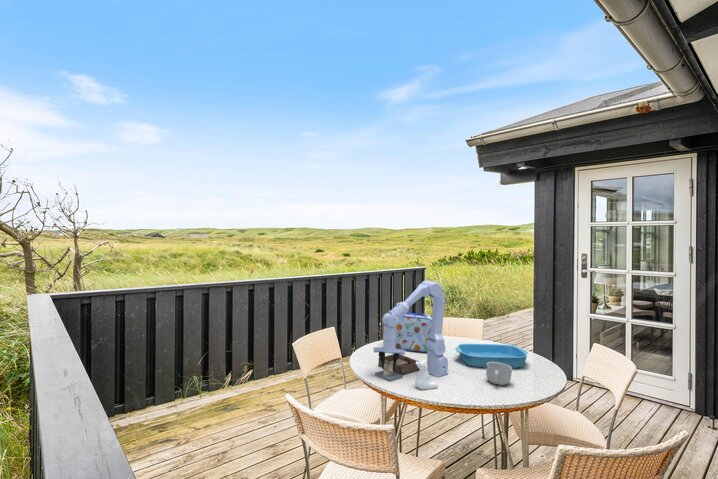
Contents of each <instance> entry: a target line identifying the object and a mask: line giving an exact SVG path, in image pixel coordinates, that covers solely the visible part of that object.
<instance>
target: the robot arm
mask: <svg viewBox="0 0 718 479" xmlns="http://www.w3.org/2000/svg"><path fill="white" fill-rule="evenodd" d="M422 297H430V298H431V300H432V312H431V316H432V320H431V331H430V333H429V334H428V337H427V340H426V342H425V346H426V348H427V352H426V353H427V354H426V356H427V358H426V359H427V361H426V363H427V365H428V369H427V370H428V373H429V375H432V376H435V377H437V378H440V377H442V376H445V375H449V370H448V366H449V360H448V358H447V357H446V356H445V355H444V354H445V352H446V348H447V347H446V344H445V338H444V337H443V323H444V314H445V303H446V297H445V294H444V291H443V286H442V285H440V283H438V282H436V281H431V280H427V279H425V280H423V281H422V282H421V283H419V284H418V285H417V287H416V289H415V290H414V291H413V292H412V293H411V294H410V295H409V296H408V297H407V298H406V299H405V300H404V301H400V302H397V303H396V304H395V305H396V306H394V307H393V308H392V309H391V310H389V311H388V312H387V313H385V314H383V316H382V318H381V322H382V323H383V340H382V344H383V345H382V346H381V347H379V346H378V347H375V346H374V347H373V353H374V354H375V353H378V359H379V358H380V360H381V363H382V367H381V369H382V370H384V363H385V356H386V354H389V355H393V354H394V355H393V370H395V365H396V361H397V359H398V357H399V355H403V356H406V350H402V349H396V348H395V347H396V326H397V325H398V322H399V320H400V319H401V318H402V317H403V316H404V315H405V314H406V313H409V311H410V307H411V306H413V305H414V304H415V303H416V302H417V301H418V300H419V299H420V298H422Z"/></svg>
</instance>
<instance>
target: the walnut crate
mask: <svg viewBox="0 0 718 479" xmlns="http://www.w3.org/2000/svg"><path fill="white" fill-rule="evenodd" d="M393 355H394V354H389V355H385V362H393ZM419 361H420V360H417V359H414V358H411V357H410V356H409V357H408V356H406V355H399V357H398V359H397V361H396V365H395V370H394V372H395V373H397V374H400V375H402V376H404V375H408V374H412V373H414V372H415V373H416V372H419V371H420V369H419V368H418V367H417V365H416V362H419ZM378 367H380V368H382V363H381V360H380V358H379V357H378Z"/></svg>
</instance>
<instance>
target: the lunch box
mask: <svg viewBox="0 0 718 479" xmlns="http://www.w3.org/2000/svg"><path fill="white" fill-rule="evenodd" d="M431 320H432V315H430V314H425V313H423V312H422V313H413V312H407V313H406V314H405V315H404V316H403V317H402V318H401V319H400V320H399V322H398V325H397V326H396V347H395V348H396V349H401V350H405V351H409V352H417V353H420V352H421V353H427V348H426V346H425V342H426V340H427V337H428V334H429V333H430V331H431Z"/></svg>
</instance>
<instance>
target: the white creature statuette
mask: <svg viewBox="0 0 718 479" xmlns="http://www.w3.org/2000/svg"><path fill="white" fill-rule="evenodd" d="M418 361H419V362H416V365H417V367H418V368H419V369H420V370H419V371H417V377H416V379H415V386H416V388H417V389H419V390H421V389H422V391H425V390H433V389H434V390H435V389H437V388H439V384H438V383H437V382H435V381H432V382H431V381H430V379H429V378H430V376H431V374H429V373H428V370H427V369H428V365H427V361H426V360H425V359H420V360H418Z"/></svg>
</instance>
